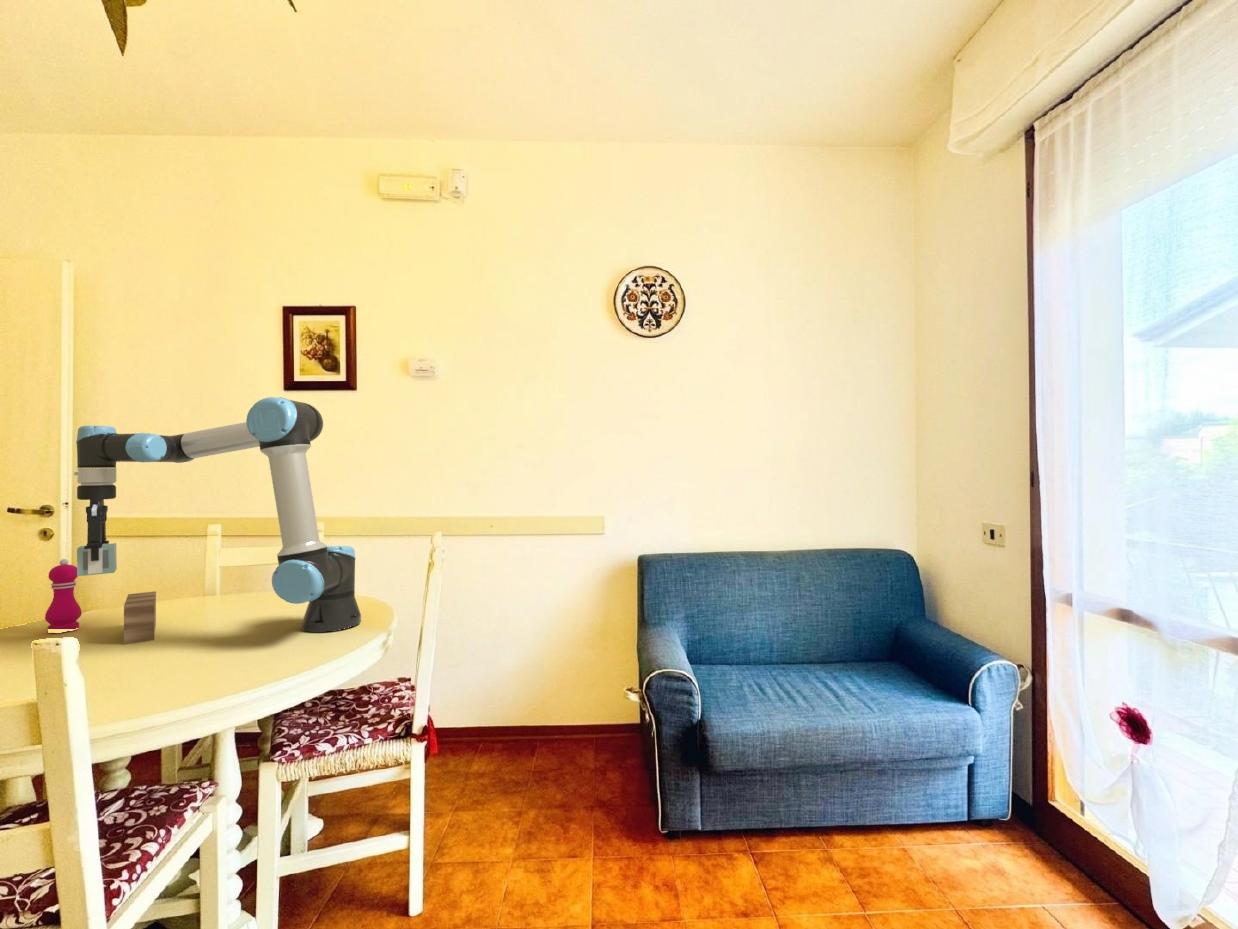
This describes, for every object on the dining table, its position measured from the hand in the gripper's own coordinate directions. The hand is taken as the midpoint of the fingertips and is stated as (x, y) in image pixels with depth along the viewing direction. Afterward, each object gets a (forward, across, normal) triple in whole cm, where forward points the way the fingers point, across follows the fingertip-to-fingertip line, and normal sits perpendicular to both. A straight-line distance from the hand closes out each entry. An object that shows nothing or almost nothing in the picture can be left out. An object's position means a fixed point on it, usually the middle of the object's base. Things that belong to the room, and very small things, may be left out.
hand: (97, 571), depth 146 cm
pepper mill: (+18, -17, -8) cm, 27 cm away
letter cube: (0, 0, 0) cm, 0 cm away
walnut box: (+18, +1, +9) cm, 20 cm away
